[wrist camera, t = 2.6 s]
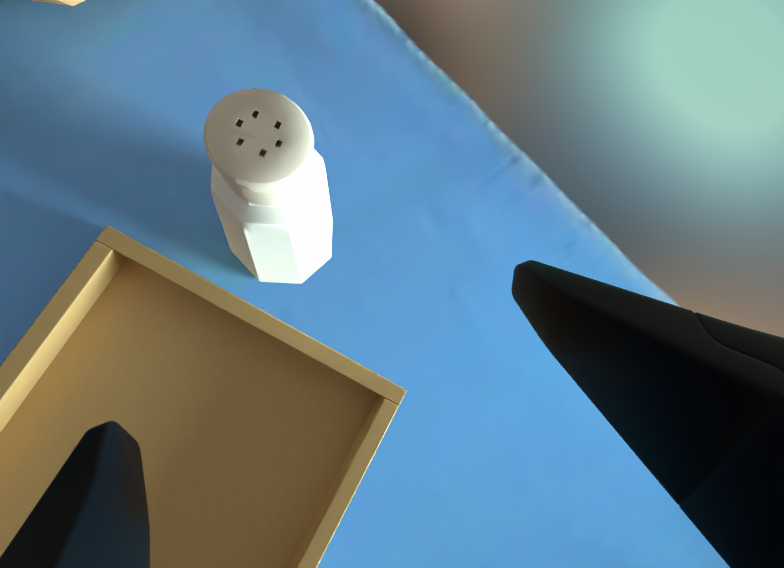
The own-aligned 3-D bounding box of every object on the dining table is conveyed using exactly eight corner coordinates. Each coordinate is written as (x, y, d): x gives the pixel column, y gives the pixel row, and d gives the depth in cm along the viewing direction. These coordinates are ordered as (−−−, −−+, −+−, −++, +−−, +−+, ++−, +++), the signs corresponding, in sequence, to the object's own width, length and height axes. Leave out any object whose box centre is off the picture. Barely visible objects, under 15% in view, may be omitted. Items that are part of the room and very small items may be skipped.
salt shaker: (351, 214, 22) (393, 99, 11) (309, 303, 21) (310, 270, 10) (258, 168, 21) (209, -1, 11) (209, 259, 20) (98, 173, 9)
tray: (238, 689, 18) (228, 741, 16) (-96, 546, 16) (-164, 581, 14) (396, 384, 21) (407, 390, 19) (130, 237, 20) (106, 224, 17)
